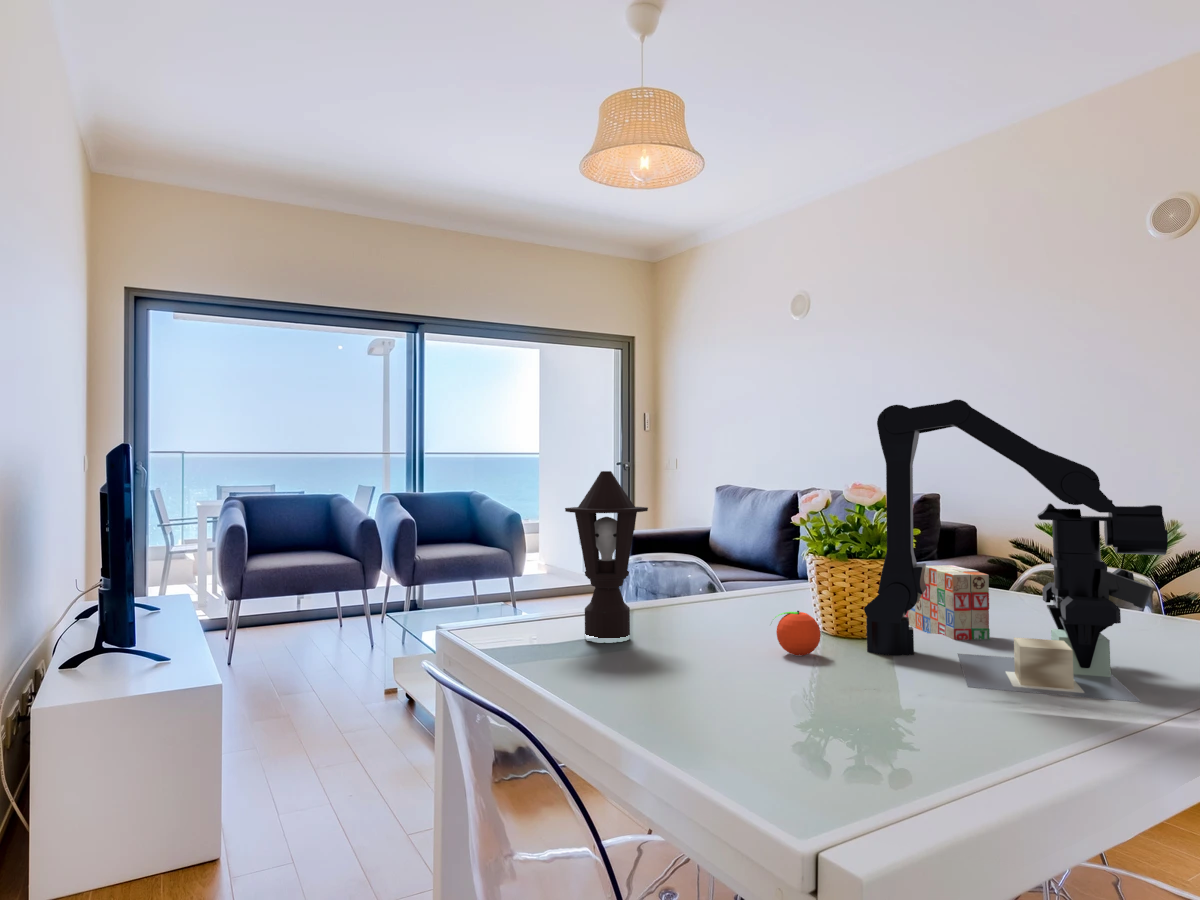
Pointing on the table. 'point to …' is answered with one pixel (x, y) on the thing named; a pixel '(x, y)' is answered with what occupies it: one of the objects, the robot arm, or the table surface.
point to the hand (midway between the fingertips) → (1080, 662)
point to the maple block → (1043, 663)
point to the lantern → (606, 554)
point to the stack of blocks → (953, 603)
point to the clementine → (798, 633)
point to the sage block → (1100, 657)
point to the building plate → (1002, 677)
